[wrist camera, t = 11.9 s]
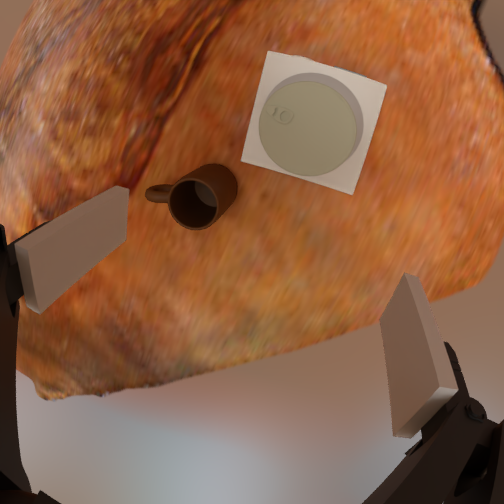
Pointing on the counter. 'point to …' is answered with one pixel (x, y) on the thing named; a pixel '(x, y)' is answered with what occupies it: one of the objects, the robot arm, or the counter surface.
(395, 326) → the robot arm
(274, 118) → the can
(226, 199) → the mug
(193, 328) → the counter surface
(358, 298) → the counter surface
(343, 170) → the scale
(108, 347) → the counter surface
